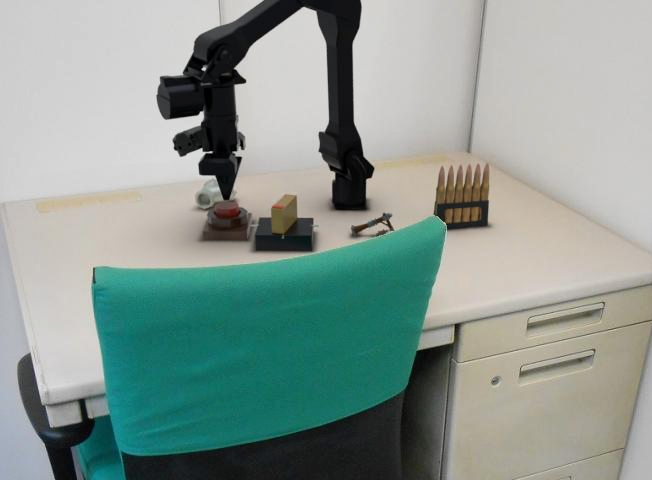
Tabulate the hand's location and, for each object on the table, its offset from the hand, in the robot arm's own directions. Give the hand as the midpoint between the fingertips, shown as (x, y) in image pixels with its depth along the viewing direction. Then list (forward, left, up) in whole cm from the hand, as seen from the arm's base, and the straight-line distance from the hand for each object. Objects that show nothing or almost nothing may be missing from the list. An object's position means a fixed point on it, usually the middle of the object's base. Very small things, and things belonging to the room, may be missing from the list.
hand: (226, 199), depth 154 cm
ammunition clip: (-44, -3, -6) cm, 44 cm away
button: (0, 0, -3) cm, 3 cm away
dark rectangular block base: (-11, +6, -6) cm, 14 cm away
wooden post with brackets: (-27, +2, -6) cm, 28 cm away
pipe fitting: (+4, -15, -6) cm, 17 cm away
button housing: (0, 0, -6) cm, 6 cm away
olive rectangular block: (-11, +6, -3) cm, 13 cm away
